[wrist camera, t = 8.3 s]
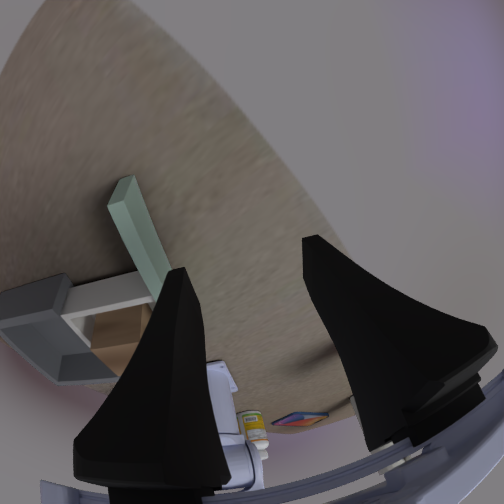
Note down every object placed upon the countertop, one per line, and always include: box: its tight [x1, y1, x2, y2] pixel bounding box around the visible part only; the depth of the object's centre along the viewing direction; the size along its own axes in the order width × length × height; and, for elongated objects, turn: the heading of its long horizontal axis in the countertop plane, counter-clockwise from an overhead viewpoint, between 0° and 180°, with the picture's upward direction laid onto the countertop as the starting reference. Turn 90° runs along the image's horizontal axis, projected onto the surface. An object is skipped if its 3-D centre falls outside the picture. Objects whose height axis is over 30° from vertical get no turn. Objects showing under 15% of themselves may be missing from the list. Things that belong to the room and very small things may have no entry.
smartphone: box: [272, 412, 329, 426], centre depth 57 cm, size 7×15×1 cm, turn 46°
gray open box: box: [0, 273, 121, 386], centre depth 21 cm, size 12×10×4 cm
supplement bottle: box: [236, 411, 269, 460], centre depth 43 cm, size 5×5×10 cm
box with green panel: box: [60, 175, 172, 348], centre depth 19 cm, size 17×10×4 cm, turn 8°
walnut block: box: [90, 303, 153, 376], centre depth 21 cm, size 4×4×4 cm
